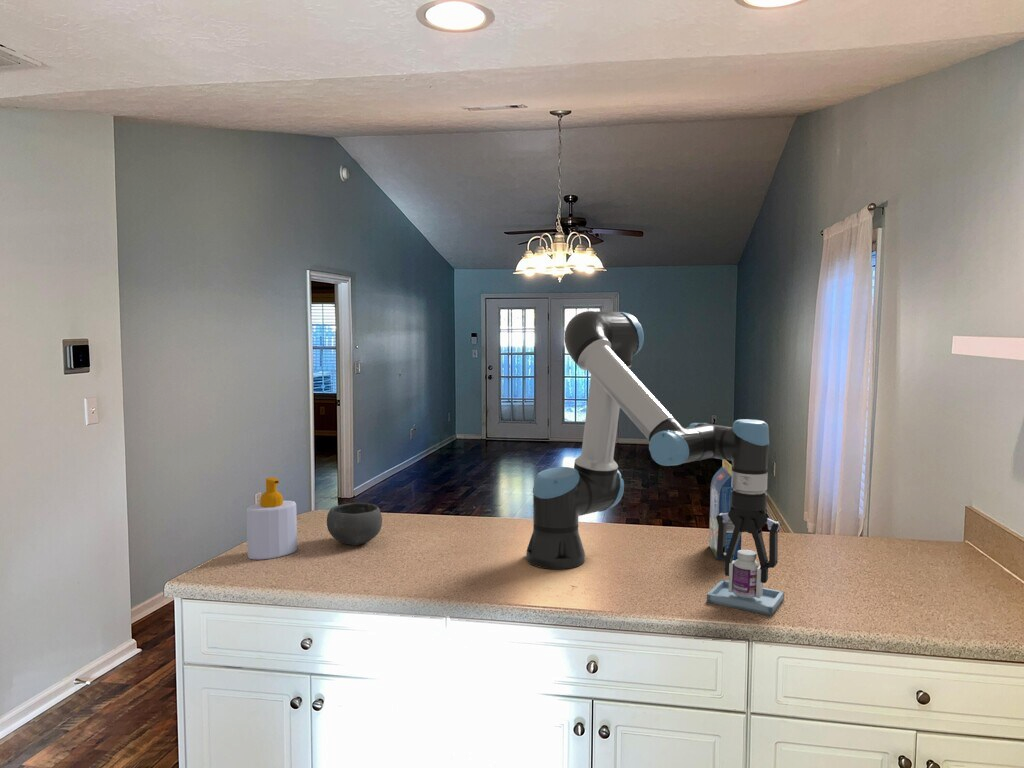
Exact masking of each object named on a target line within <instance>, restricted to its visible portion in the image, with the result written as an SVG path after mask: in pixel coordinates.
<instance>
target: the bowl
mask: <svg viewBox="0 0 1024 768" xmlns="http://www.w3.org/2000/svg"><path fill="white" fill-rule="evenodd" d="M382 526H383V516H382V511H381V509H380V507H379V506H377V505H375V504H373V503H370V502H369V503H368V502H349V503H343V504H339V505H334V506H332V507H331V508H330V509H329V511H328V513H327V517H326V527H327V531H328V533H329V535H331V537H332V538H333V539H334V540H336V541H337V542H339V543H341V544H344V545H345V544H346V545H350V546H351V545H353V546H354V545H355V546H357V545H362V544H366V543H368V542H370V541H371V540H372V539H374V538H375V537H376V536H377V535H379V534H380V532H381V530H382Z"/></svg>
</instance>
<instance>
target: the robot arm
mask: <svg viewBox="0 0 1024 768" xmlns="http://www.w3.org/2000/svg"><path fill="white" fill-rule="evenodd" d="M563 337H564V344H565V349H566V350H567V353H568V354H569V356H570V358H571V359H572V360H573V363H575V364H576V365H577V366H578V368H579V369H580V370H582V371H588V372H589V374H590V379H589V386H588V387H589V388H588V395H587V403H586V413H585V422H584V428H583V437H582V438H583V439H582V445H581V454H580V455H579V456H577V457H576V458H575V459H574V465H573V467H569V466H568V467H567V466H558V467H550V468H546V469H543V470H541V471H539V472H538V473H537V474H536V475H535V476H534V479H533V488H532V497H533V498H532V499H533V500H532V501H533V509H532V510H533V518H532V519H533V521H532V522H533V527H532V533H531V537H530V539H529V542H528V545H527V549H526V553H525V554H526V558H525V559H526V562H527V563H528V564H530V565H532V566H535V567H538V568H542V569H550V570H564V569H565V570H567V569H572V568H576V567H579V566H581V565H583V564H584V563H585V561H586V555H585V554H586V552H585V549H584V545H583V542H582V539H581V535H580V532H579V517H580V516H585V515H588V514H595V513H597V512H599V513H600V512H605V511H607V510H608V509H609V510H610V509H612V508H614V507H615V506H616V505H618V503H619V502H620V501H621V500H622V498H623V494H624V490H625V489H624V488H625V481H624V479H623V478H622V477H623V476H622V474H621V472H620V470H619V469H618V468H619V465H618V463H617V462H616V461H615V459H614V456H615V449H616V448H615V447H616V440H617V431H618V423H619V417H620V416H619V415H620V409H621V410H622V411H623V412H624V413H625V415H626V416H627V417H628V418H629V419H630V421H631V422H632V423H633V424H634V425H635V426H636V427H637V428H638V430H639V431H640V432H641V434H643V435H644V436H645V438H646V439H647V440H648V441H649V443H648V451H649V453H650V458H651V459H652V460H653V461H654V462H655V463H657V464H658V465H661V466H664V467H667V466H668V467H670V466H679V465H683V464H686V463H691V462H697V461H703V460H708V459H717V460H718V459H719V460H722V459H724V460H726V461H728V462H729V461H730V462H731V465H732V482H731V487H732V488H733V490H732V491H731V508H730V511H729V512H728V513H720V514H719V515H717V516H716V519H717V522H718V541H717V557H718V558H721V559H723V560H722V561H724V576H727V577H728V581H729V590H728V592H731V593H732V592H733V575H734V562H735V560H732V559H733V558H734V557H733V556H734V553H735V550H736V547H737V544H738V541H739V538H740V535H741V533H748V534H751V536H752V539H753V541H754V544H755V550H756V555H757V556H758V561H759V562H758V563H759V567H758V568H757V583H756V598H760V597H761V596H762V595H763V588H764V584H766V583H767V582H768V580H769V569H771V568H772V569H774V568H775V567H776V566H777V565H778V563H779V562H778V560H779V559H778V556H779V555H778V553H779V552H778V548H779V547H778V545H779V544H778V543H779V533H778V532H779V529H780V527H781V525H782V524H781V522H780V521H779V520H773V519H771V518H770V517H769V515H768V513H767V505H768V504H767V503H768V502H767V501H768V493H766V491H767V490H768V478H769V476H768V465H769V464H768V463H769V449H770V446H769V445H770V434H769V433H770V431H769V429H770V428H769V424H768V423H767V422H765V421H764V420H760V419H749V418H745V419H744V418H742V419H741V418H739V419H737V420H734V422H733V424H732V426H724V425H718V424H712V423H711V424H710V423H708V422H692V423H690V424H689V425H688V426H687V427H683V426H682V425H681V424H680V423H679V421H678V420H677V419H676V418H675V417H674V416H673V415H672V414H671V413H670V412H669V411H668V409H667V408H665V407H664V405H663V404H662V403H661V402H660V401H659V400H658V399H657V398H656V397H655V395H653V393H652V392H651V391H650V390H649V389H648V388H647V386H646V385H644V384H643V382H642V381H641V380H640V379H639V378H638V377H637V375H635V373H634V372H633V371H631V369H630V368H631V367H632V362H633V357H634V356H635V355H637V354H638V353H639V352H640V351H641V349H642V348H643V345H644V341H645V339H644V338H645V335H644V329H643V327H642V324H641V323H640V322H639V321H638V318H637V317H635V316H634V315H633V314H631V313H629V312H624V311H616V310H612V311H609V310H608V311H605V310H604V311H601V310H600V311H598V310H597V311H593V310H586V311H582V312H580V313H577V314H576V315H575V316H573V317H572V318H570V321H568V323H567V325H566V328H565V330H564V336H563ZM729 518H730V520H731V521H732V523H733V524H734V526H735V528H734V531H733V535H732V538H731V541H730V544H729V547H728V550H727V553H725V547H726V531H727V522H728V519H729ZM766 524H767V529H768V530H769V537H768V545H769V546H768V549H769V553H768V554H767V550H766V546H765V543H764V538H763V530H762V528H763V527H764V526H765V525H766ZM741 536H742V535H741ZM768 555H769V556H768Z"/></svg>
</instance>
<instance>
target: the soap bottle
mask: <svg viewBox="0 0 1024 768" xmlns="http://www.w3.org/2000/svg"><path fill="white" fill-rule="evenodd" d="M278 484H280V481H279V479H278V478H277V477H274V476H273V477H267V478H265V488H266V489H265V491H264V492H263V493H262V494H261V496H260V499H259V502H260V503H256V504H253V505H250V506H249V507H247V508H246V538H247V539H246V541H247V542H246V543H247V557H248V559H250V560H258V561H259V560H269V559H270V560H271V559H276V558H281V557H285V556H289V555H291V554H293V553H296V551H297V550H298V530H297V529H298V525H297V524H298V523H297V520H298V519H297V516H298V515H297V514H298V513H297V503H296V501H295V500H284V497H283V495H282V493H281V492H279V491H278V489H277V487H278V486H277V485H278Z"/></svg>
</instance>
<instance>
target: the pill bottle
mask: <svg viewBox="0 0 1024 768" xmlns="http://www.w3.org/2000/svg"><path fill="white" fill-rule="evenodd" d="M737 557H738V558H739V559H737V560H734V561H735V562H734V575H733V593H734V594H735V595H736V596H739V597H743V598H754V597H756V583H757V568H758V567H759V566H760V563H759V562H758V561H757V551H754V550H752V549H741V550H738V552H737Z"/></svg>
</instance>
